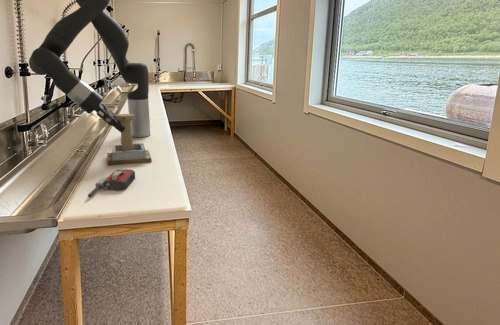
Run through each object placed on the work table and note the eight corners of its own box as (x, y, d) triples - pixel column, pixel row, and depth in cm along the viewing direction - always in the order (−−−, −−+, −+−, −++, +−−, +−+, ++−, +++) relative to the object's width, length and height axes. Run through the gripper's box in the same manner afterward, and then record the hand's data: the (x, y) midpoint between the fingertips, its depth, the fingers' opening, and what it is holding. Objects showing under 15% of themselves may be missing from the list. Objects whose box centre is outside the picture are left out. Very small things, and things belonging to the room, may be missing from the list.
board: (107, 156, 143) (107, 152, 143) (148, 153, 148) (148, 150, 147) (107, 165, 132) (107, 161, 132) (151, 162, 137) (151, 158, 137)
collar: (112, 152, 143) (111, 145, 142) (143, 150, 147) (143, 143, 146) (112, 160, 133) (112, 152, 132) (146, 158, 136) (145, 150, 135)
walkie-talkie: (109, 177, 121) (85, 201, 102) (108, 164, 120) (83, 185, 101) (137, 177, 122) (118, 201, 102) (136, 164, 120) (116, 186, 101)
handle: (135, 157, 138) (132, 116, 133) (117, 157, 137) (114, 116, 133) (138, 153, 142) (135, 114, 138) (120, 153, 142) (117, 113, 138)
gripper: (92, 91, 123) (131, 124, 130) (93, 87, 136) (129, 117, 143) (76, 107, 123) (116, 140, 130) (79, 102, 135) (115, 132, 142)
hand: (123, 128), depth 136 cm, fingers open, 8 cm apart
